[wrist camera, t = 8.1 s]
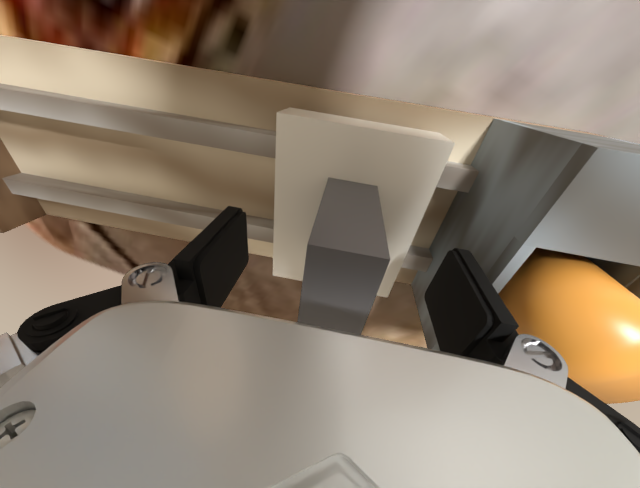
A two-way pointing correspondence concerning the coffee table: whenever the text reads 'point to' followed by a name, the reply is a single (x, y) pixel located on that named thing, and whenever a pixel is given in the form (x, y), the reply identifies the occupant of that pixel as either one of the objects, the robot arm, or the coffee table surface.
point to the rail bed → (259, 163)
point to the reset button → (580, 320)
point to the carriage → (348, 208)
